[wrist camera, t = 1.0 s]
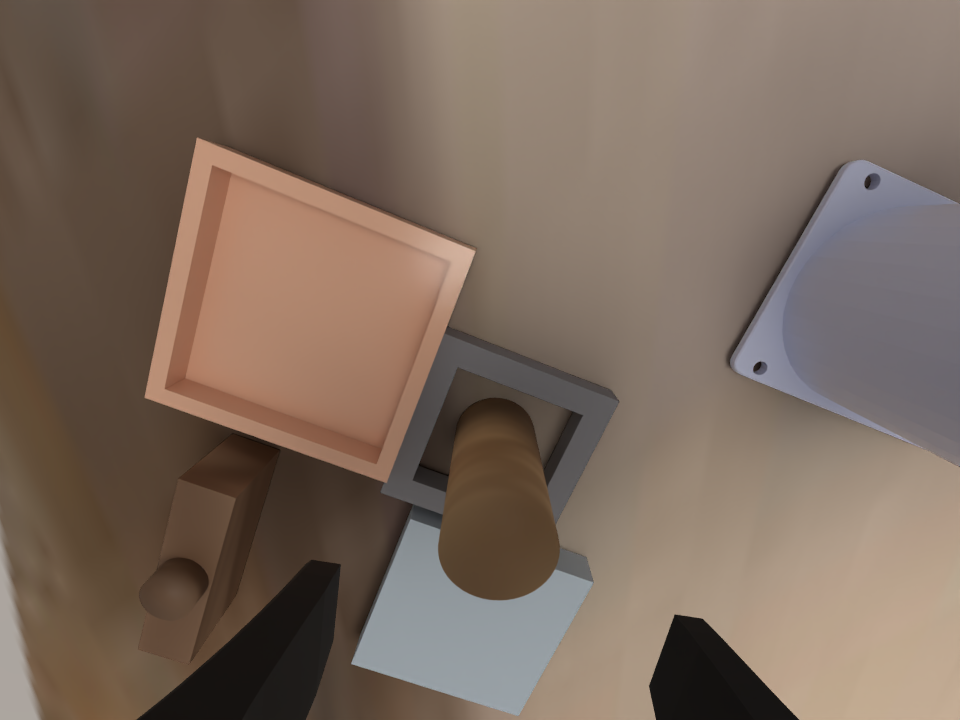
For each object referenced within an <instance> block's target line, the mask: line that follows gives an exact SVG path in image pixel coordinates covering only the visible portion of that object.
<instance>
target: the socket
mask: <svg viewBox="0 0 960 720" xmlns="http://www.w3.org/2000/svg"><path fill="white" fill-rule="evenodd" d="M457 368H460V369H463V370H466V371H468V372H471V373H474V374H476V375H479V376H481V377H484V378H487V379H489V380H492V381H494V382H497V383H500V384H502V385H505V386H508V387H510V388H513V389H515V390H518V391H521V392H523V393H526V394H528V395H531V396H534V397H536V398H539V399H542V400H544V401H547V402H549V403H552V404H555V405H557V406H560V407H562V408H565V409H568V410H570V411H573V413H572V415H571V417H570V419H569V421H568V423H567V425H566V427H565V429H564V431H563V433H562V435H561V437H560V439H559V441H558V443H557V445H556V447H555V449H554V451H553V453H552V455H551V458H550V460H549V462H548V464H547V466H546V468H545V470H544V476H545V480H546V485H547V489H548V494H549V498H550V503H551V507H552V512H553V516H554V521H555V524H556V523H557V521H558V519H559V517H560V515H561V513H562V511H563V509H564V507H565V505H566V503H567V501H568V499H569V498H570V496H571V494H572V492H573V490H574V488H575V486H576V484H577V482H578V480H579V478H580V476H581V474H582V473H583V471H584V469H585V467H586V465H587V463H588V461H589V459H590V457H591V455H592V453H593V451H594V449H595V447H596V446H597V444H598V442H599V440H600V438H601V436H602V434H603V432H604V430H605V428H606V426H607V424H608V422H609V421H610V419H611V417H612V415H613V413H614V411H615V409H616V407H617V405H618V403H619V400H618V399H617V398H616V396H615V395H614V394H613V392H612V391H611V390H609V389H606V388H604V387H601V386H599V385H596V384H594V383H591V382H589V381H586V380H583V379H581V378H578V377H576V376H573V375H571V374H568V373H565V372H563V371H560V370H558V369H555V368H553V367H550V366H548V365H545V364H542V363H540V362H537V361H535V360H532V359H530V358H527V357H524V356H522V355H519V354H517V353H514V352H512V351H509V350H506V349H504V348H501V347H499V346H496V345H494V344H491V343H489V342H486V341H483V340H481V339H478V338H476V337H473V336H471V335H468V334H465V333H463V332H460V331H458V330H455V329H453V328H450V327H448V326H447V328H446V330H445V333H444V335H443V338H442V340H441V343H440V346H439V348H438V351H437V353H436V356H435V359H434V361H433V364H432V366H431V369H430V372H429V374H428V377H427V379H426V382H425V385H424V387H423V390H422V392H421V395H420V398H419V400H418V403H417V405H416V408H415V411H414V413H413V416H412V418H411V421H410V424H409V426H408V429H407V431H406V434H405V437H404V439H403V442H402V444H401V447H400V450H399V452H398V455H397V457H396V460H395V463H394V465H393V468H392V470H391V473H390V476H389V478H388V481H387V483H385V482H384V484H383V487H382V489H381V492H380V493H382V494H385V495H388V496H391V497H394V498H397V499H400V500H402V501H405V502H408V503H411V504H414V505H417V506H420V507H422V508H425V509H428V510H431V511H434V512H437V513H439V514H442V515H443V510H444V504H445V497H446V491H447V485H448V478H449V476H446V475H443V474H440V473H437V472H435V471H432V470H429V469H426V468H423V467H421V466H418V465H419V463H420V460H421V458H422V455H423V453H424V450H425V448H426V445H427V443H428V440H429V438H430V435H431V433H432V430H433V428H434V425H435V423H436V420H437V418H438V415H439V413H440V410H441V408H442V405H443V403H444V401H445V398H446V396H447V393H448V391H449V388H450V386H451V383H452V381H453V378H454V376H455V373H456V371H457Z"/></svg>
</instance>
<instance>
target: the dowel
mask: <svg viewBox="0 0 960 720" xmlns="http://www.w3.org/2000/svg"><path fill="white" fill-rule="evenodd" d="M559 554H560V544H559V539H558V534H557V530H556V525H555V521H554V516H553V512H552V507H551V503H550V498H549V494H548V489H547V485H546V480H545V476H544V471H543V467H542V462H541V458H540V453H539V449H538V444H537V440H536V435H535V431H534V426H533V423H532V420H531V418H530V416H529V415H528V414H527V412H526V411H525V410H524V409H523V408H522V407H520V406H519V405H518V404H516V403H514V402H512V401H510V400H506V399H502V398H489V399H484V400H481V401H478V402H476V403H474V404H473V405H471V406H470V407H469V408H467V409H466V410H465V412H464V413H463V414H462V415H461V417H460V419H459V421H458V424H457V428H456V434H455V440H454V446H453V453H452V459H451V466H450V472H449V478H448V485H447V491H446V497H445V504H444V510H443V516H442V523H441V529H440V536H439V542H438V556H439V560H440V564H441V566H442V568H443V571H444V572H445V574H446V575H447V577H448V578H449V579H450V580H451V581H452V582H453V583H454V584H455V585H456V586H457V587H459V588H460V589H461V590H463V591H465V592H466V593H468V594H470V595H473V596H475V597H479V598H482V599H487V600H498V601H500V600H511V599H516V598H519V597H523V596H525V595H528V594H530V593H532V592H533V591H535V590H537V589H538V588H539V587H541V586H542V585H543V584H544V583H545V582H546V581H547V580H548V579H549V578H550V577H551V575H552V574H553V572H554V570H555V568H556V566H557V563H558V560H559Z"/></svg>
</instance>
